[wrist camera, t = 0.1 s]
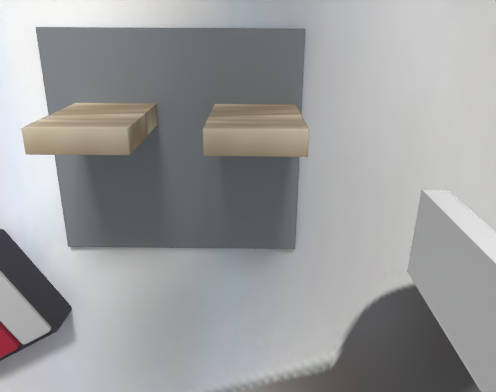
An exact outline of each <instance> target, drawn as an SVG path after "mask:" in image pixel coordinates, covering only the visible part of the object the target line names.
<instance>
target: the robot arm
mask: <svg viewBox="0 0 496 392" xmlns="http://www.w3.org/2000/svg"><path fill="white" fill-rule="evenodd" d="M407 272H408V273H409V275H410V277H411V278H412V280H413V282H414V283H415V285H416V286H417V288H418V290H419V291H420V293H421V295H422V296H423V298H424V300H425V301H426V303H427V304H428V306H429V308H430V309H431V311H432V313H433V314H434V316H435V317H436V319H437V321H438V322H439V324H440V326H441V327H442V329H443V330H444V332H445V334H446V335H447V337H448V339H449V340H450V342H451V344H452V345H453V347H454V348H455V350H456V351H457V353H458V355H459V356H460V358H461V360H462V361H463V363H464V365H465V366H466V368H467V370H468V371H469V373H470V374H471V376H472V378H473V379H474V381H475V383H476V384H477V386H478V388H479V389H480V391H481V392H496V232H495V231H494V230H493V229H492V228H490V227H489V226H488V225H487V224H486V223H485V222H484V221H482V220H481V219H480V218H479V217H478V216H477V215H476V214H474V213H473V212H472V211H471V210H470V209H469V208H468V207H466V206H465V205H464V204H463V203H462V202H461V201H460V200H458V199H457V198H456V197H455V196H454V195H453V194H451V193H450V192H449V191H448V190H427V189H422V190H421V196H420V202H419V207H418V213H417V219H416V225H415V230H414V236H413V242H412V247H411V253H410V259H409V264H408V270H407Z"/></svg>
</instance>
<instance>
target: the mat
mask: <svg viewBox="0 0 496 392" xmlns="http://www.w3.org/2000/svg"><path fill="white" fill-rule="evenodd" d="M36 33H37V40H38V46H39V53H40V60H41V66H42V73H43V80H44V87H45V93H46V100H47V107H48V113H49V115H51V114H53V113H55V112H57V111H59V110H61V109H63V108H66V107H68V106H70V105H72V104H74V103H157V116H158V125H157V126H156V127H155V128H154V129H153V130H152V131H151V132H150V133H149V134H148V135H147V137H146V138H145V139H144V140H143V141H142V142H141V143H140V144H139V145H138V146H137V148H136V149H135V150H134V151H133V152H132V153H131V154H130V155H55V160H56V167H57V174H58V181H59V187H60V194H61V201H62V207H63V214H64V221H65V228H66V234H67V241H68V247H165V248H269V249H295V237H296V216H297V195H298V173H299V157H287V156H204V153H203V128H204V126H205V124H206V121H207V119H208V117H209V115H210V113H211V111H212V108H213V106H214V104H296V106H297V107H298V109H299V111H300V113H301V109H302V88H303V66H304V45H305V29H241V28H75V27H36Z"/></svg>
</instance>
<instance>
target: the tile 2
mask: <svg viewBox="0 0 496 392" xmlns="http://www.w3.org/2000/svg"><path fill="white" fill-rule="evenodd" d="M308 142H309V129H308V127H307V125H306V123H305V121H304V119H303V117H302V115H301V113H300V111H299V109H298V107H297V106H296V104H214V106H213V108H212V111H211V113H210V115H209V117H208V119H207V121H206V124H205V126H204V128H203V153H204V156H287V157H308Z"/></svg>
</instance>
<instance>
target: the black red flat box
mask: <svg viewBox="0 0 496 392" xmlns="http://www.w3.org/2000/svg"><path fill="white" fill-rule="evenodd" d="M71 309H72V308H71V306H70V305H69V304H68V302H67V301H66V300H65V299H64V298H63V297H62V296H61V294H60V293H59V292H58V291H57V290H56V289H55V288H54V286H53V285H52V284H51V283H50V282H49V281H48V280H47V278H46V277H45V276H44V275H43V274H42V273H41V272H40V270H39V269H38V268H37V267H36V266H35V265H34V264H33V262H32V261H31V260H30V259H29V258H28V257H27V256H26V254H25V253H24V252H23V251H22V250H21V249H20V248H19V246H18V245H17V244H16V243H15V242H14V241H13V240H12V238H11V237H10V236H9V235H8V234H7V233H6V232H5V231H4V230H3V229H0V361H1V360H3V359H5V358H6V357H8V356H10V355H12V354H14V353H16V352H18V351H20V350H22V349H24V348H26V347H28V346H29V345H31V344H33V343H35V342H37V341H39V340H41V339H43V338H45V337H47V336H49V335H50V334H52V333H54V332H56V331H57V330H58V329H59V328H60V326H61V325H62V323H63V322H64V320H65V319H66V317H67V316H68V314H69V313H70V311H71Z"/></svg>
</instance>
